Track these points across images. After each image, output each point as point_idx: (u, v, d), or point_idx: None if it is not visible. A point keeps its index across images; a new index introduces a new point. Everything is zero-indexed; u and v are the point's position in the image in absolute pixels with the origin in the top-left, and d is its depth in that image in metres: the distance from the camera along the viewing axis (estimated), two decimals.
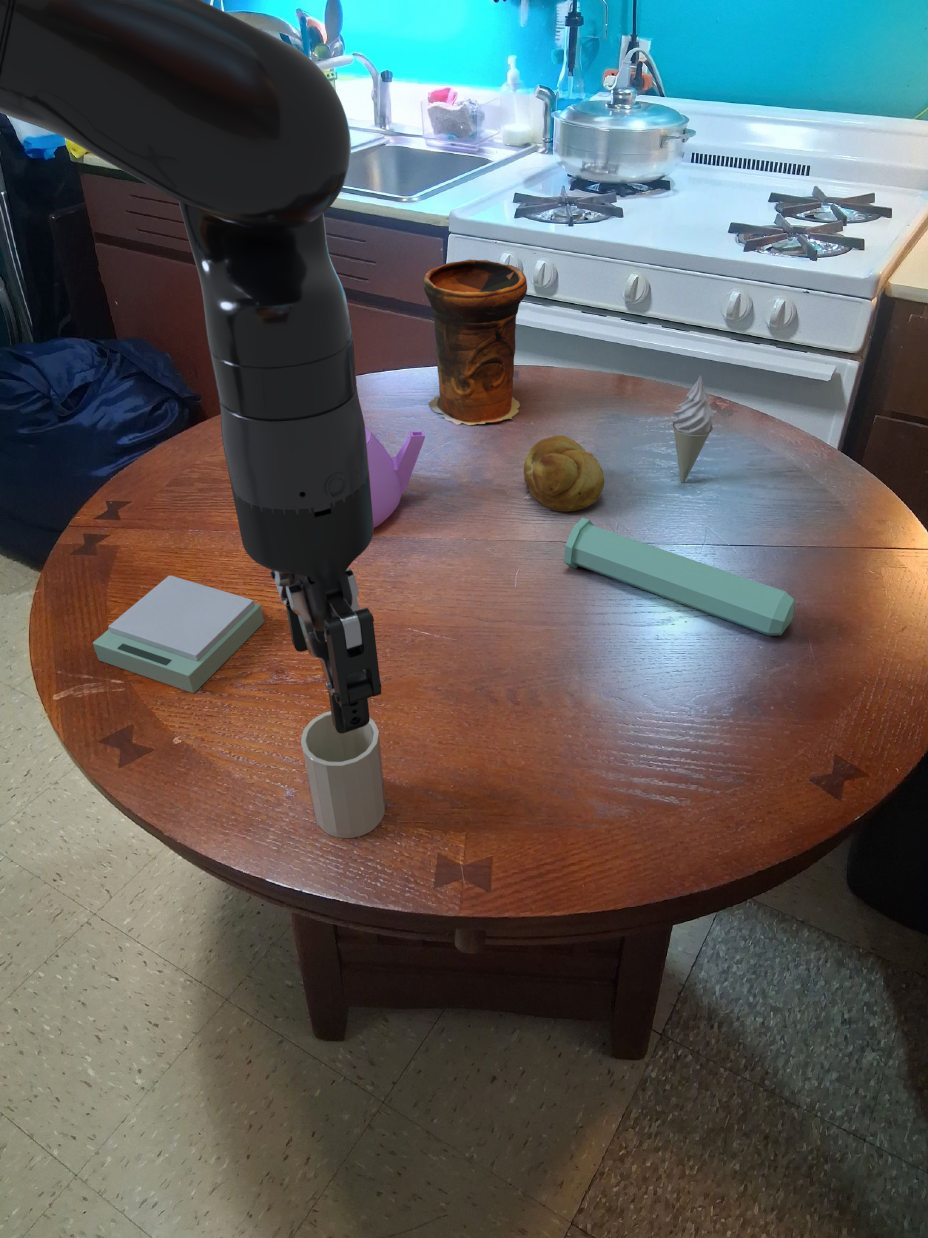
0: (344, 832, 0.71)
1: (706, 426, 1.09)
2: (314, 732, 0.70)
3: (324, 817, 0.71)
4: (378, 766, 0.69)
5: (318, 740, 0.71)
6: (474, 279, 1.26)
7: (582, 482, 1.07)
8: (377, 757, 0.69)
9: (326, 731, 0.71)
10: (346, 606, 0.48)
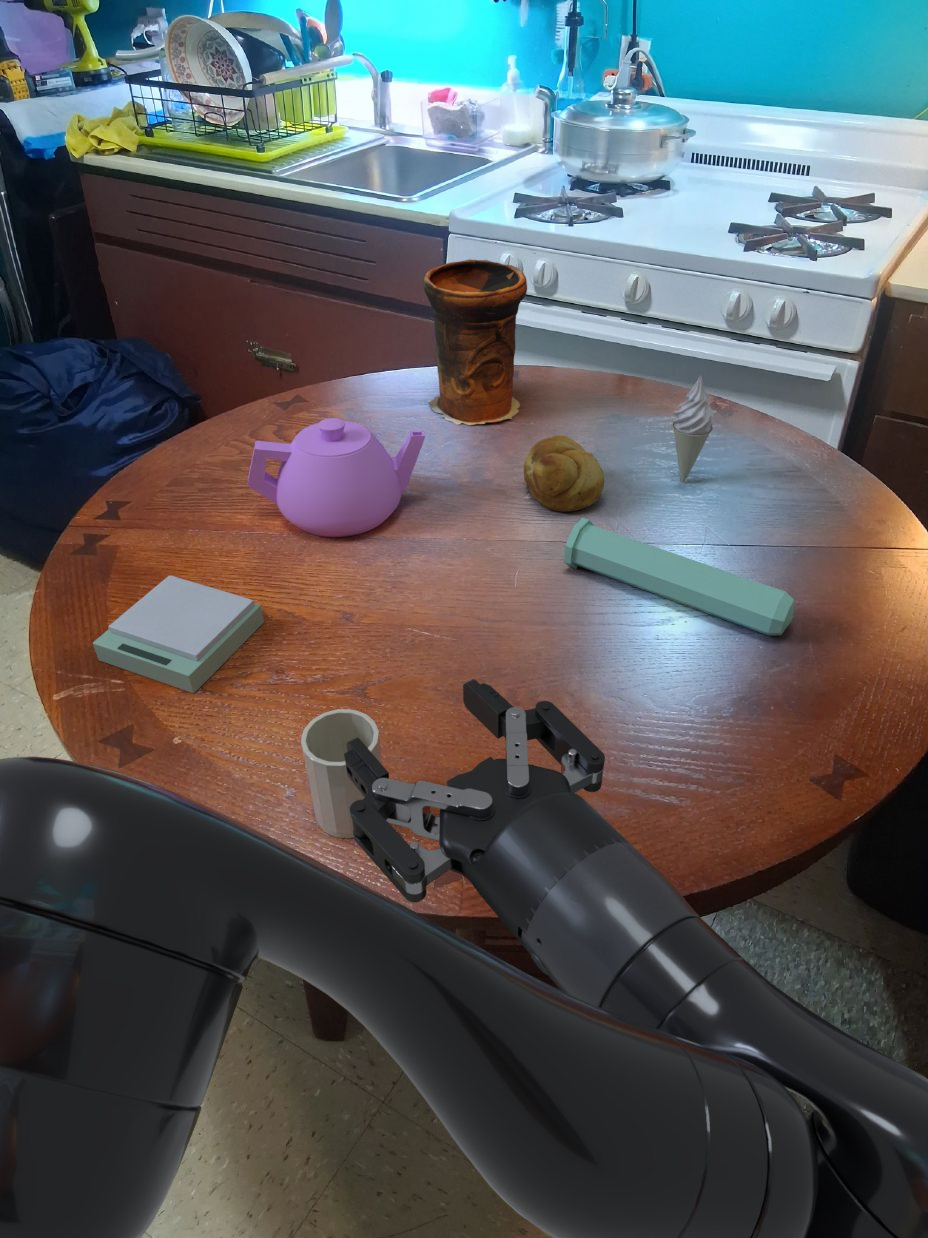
0: (344, 832, 0.71)
1: (706, 426, 1.09)
2: (314, 732, 0.70)
3: (324, 817, 0.71)
4: None
5: (318, 740, 0.71)
6: (474, 279, 1.26)
7: (582, 482, 1.07)
8: (377, 757, 0.69)
9: (326, 731, 0.71)
10: (435, 877, 0.46)
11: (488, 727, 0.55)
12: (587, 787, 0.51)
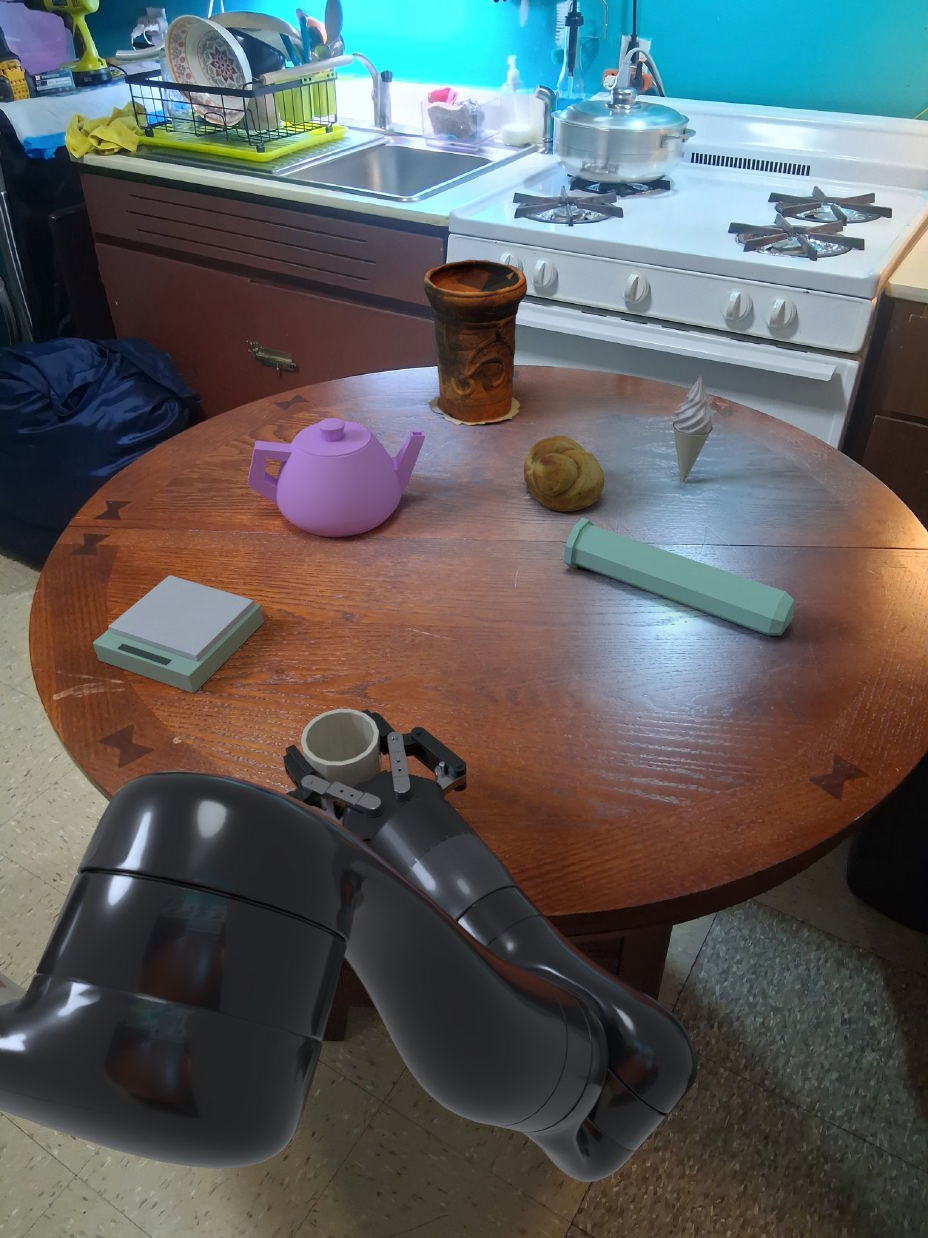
0: None
1: (706, 426, 1.09)
2: (314, 732, 0.70)
3: None
4: (378, 766, 0.69)
5: (318, 740, 0.71)
6: (474, 279, 1.26)
7: (582, 482, 1.07)
8: (377, 757, 0.69)
9: (326, 731, 0.71)
10: None
11: None
12: (456, 788, 0.68)
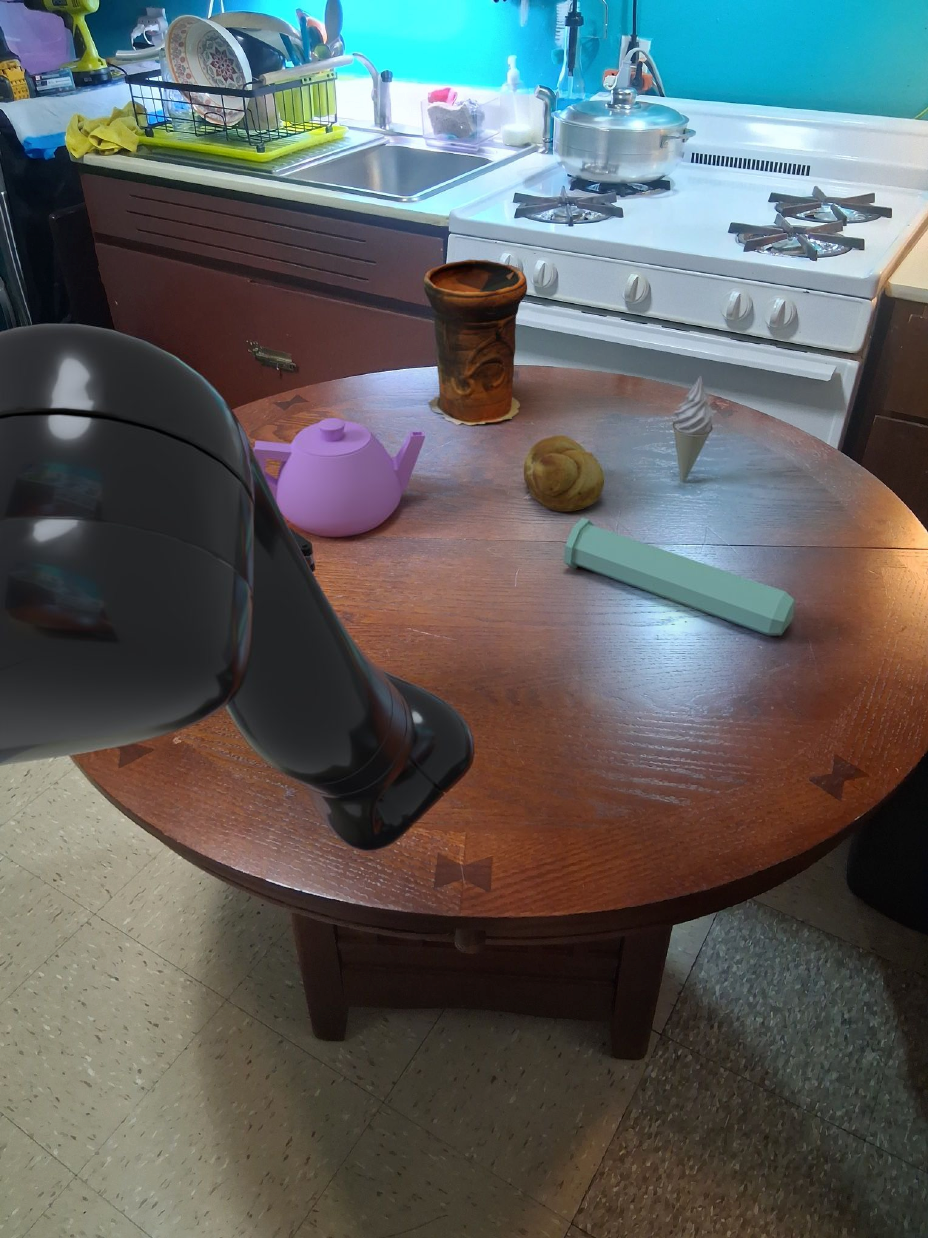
0: None
1: (706, 426, 1.09)
2: None
3: None
4: None
5: None
6: (474, 279, 1.26)
7: (582, 482, 1.07)
8: None
9: None
10: None
11: None
12: None
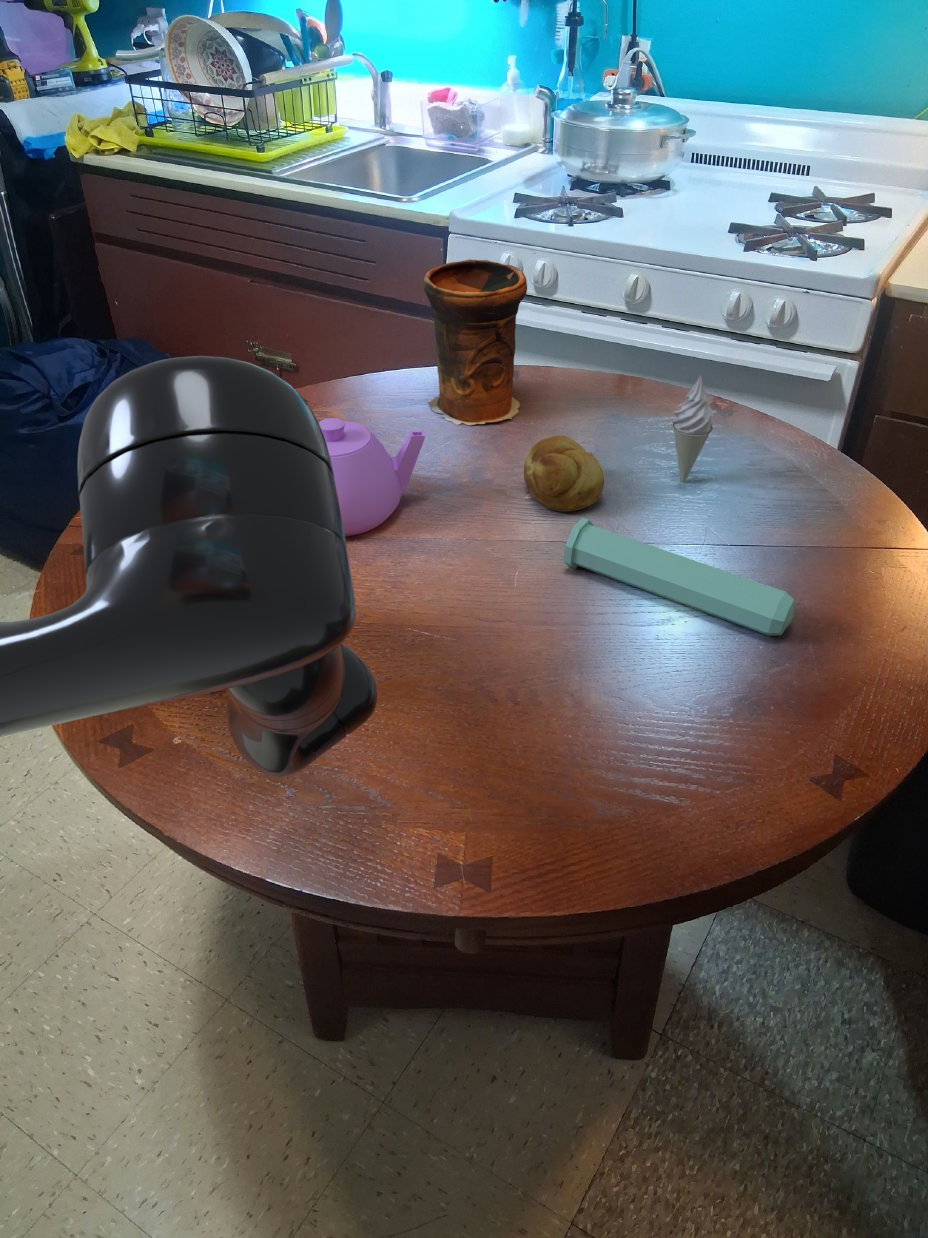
0: None
1: (706, 426, 1.09)
2: None
3: None
4: None
5: None
6: (474, 279, 1.26)
7: (582, 482, 1.07)
8: None
9: None
10: None
11: None
12: None
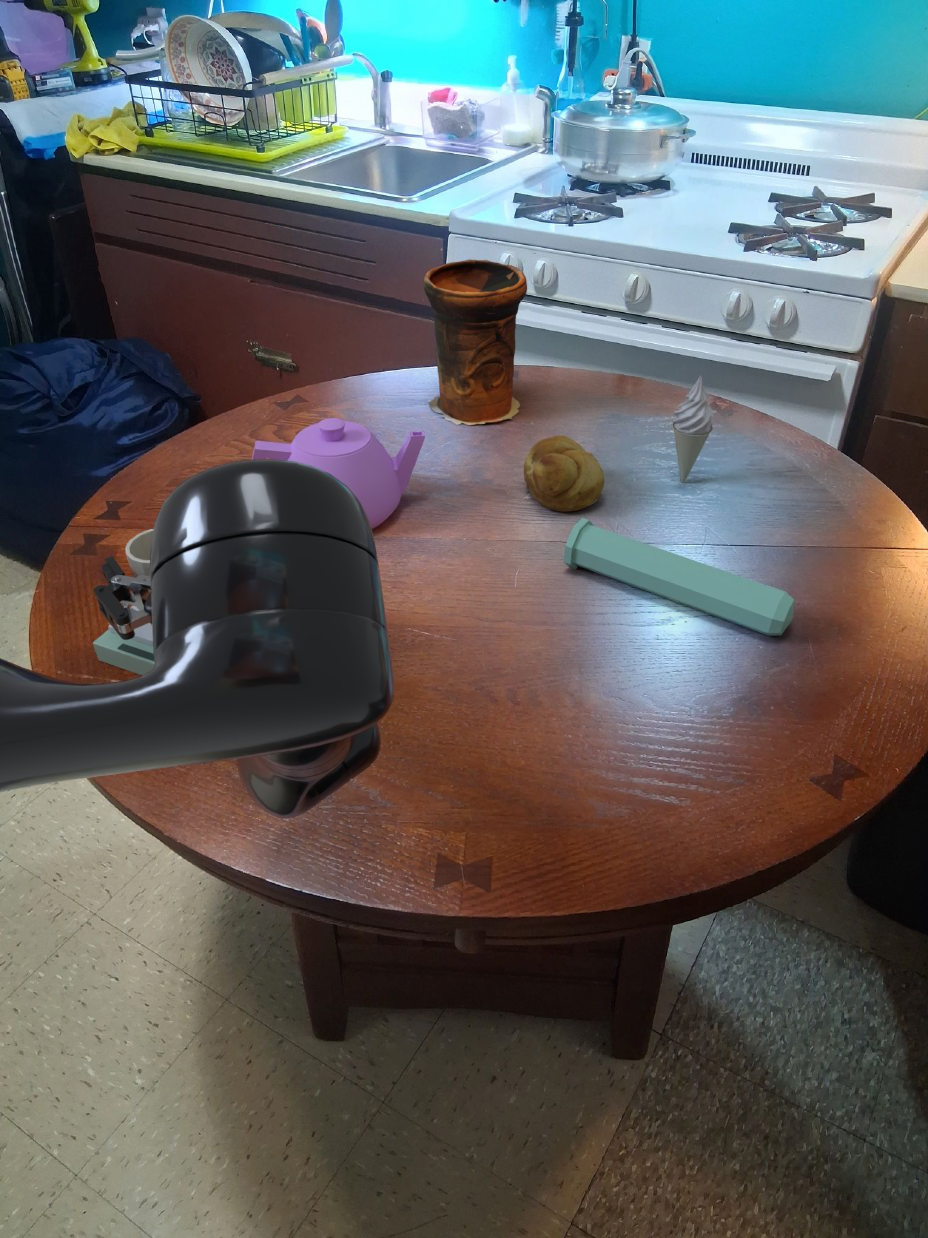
0: None
1: (706, 426, 1.09)
2: (140, 544, 0.85)
3: None
4: None
5: (145, 553, 0.86)
6: (474, 279, 1.26)
7: (582, 482, 1.07)
8: None
9: None
10: (138, 625, 0.77)
11: None
12: None
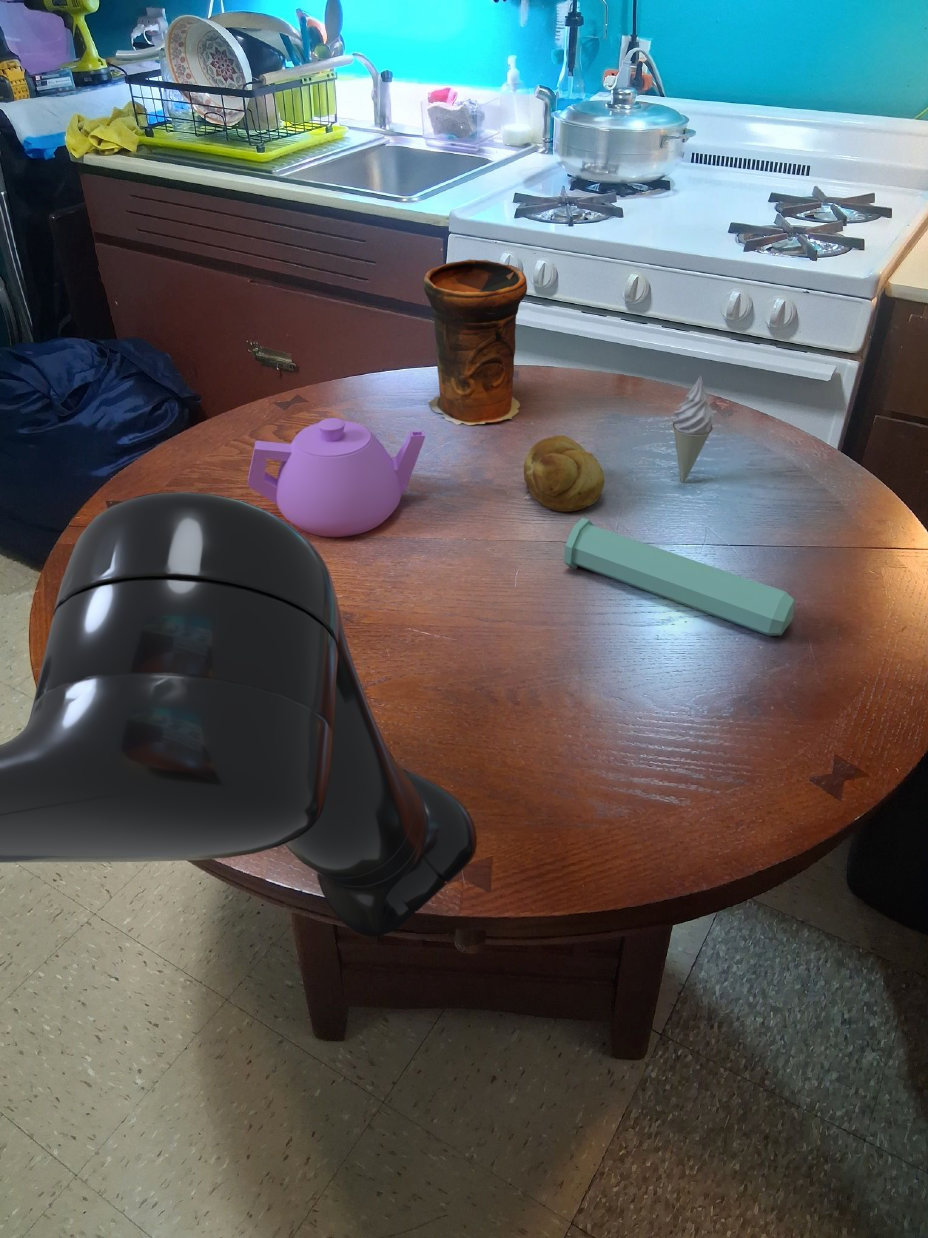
0: None
1: (706, 426, 1.09)
2: None
3: None
4: None
5: None
6: (474, 279, 1.26)
7: (582, 482, 1.07)
8: None
9: None
10: None
11: None
12: None
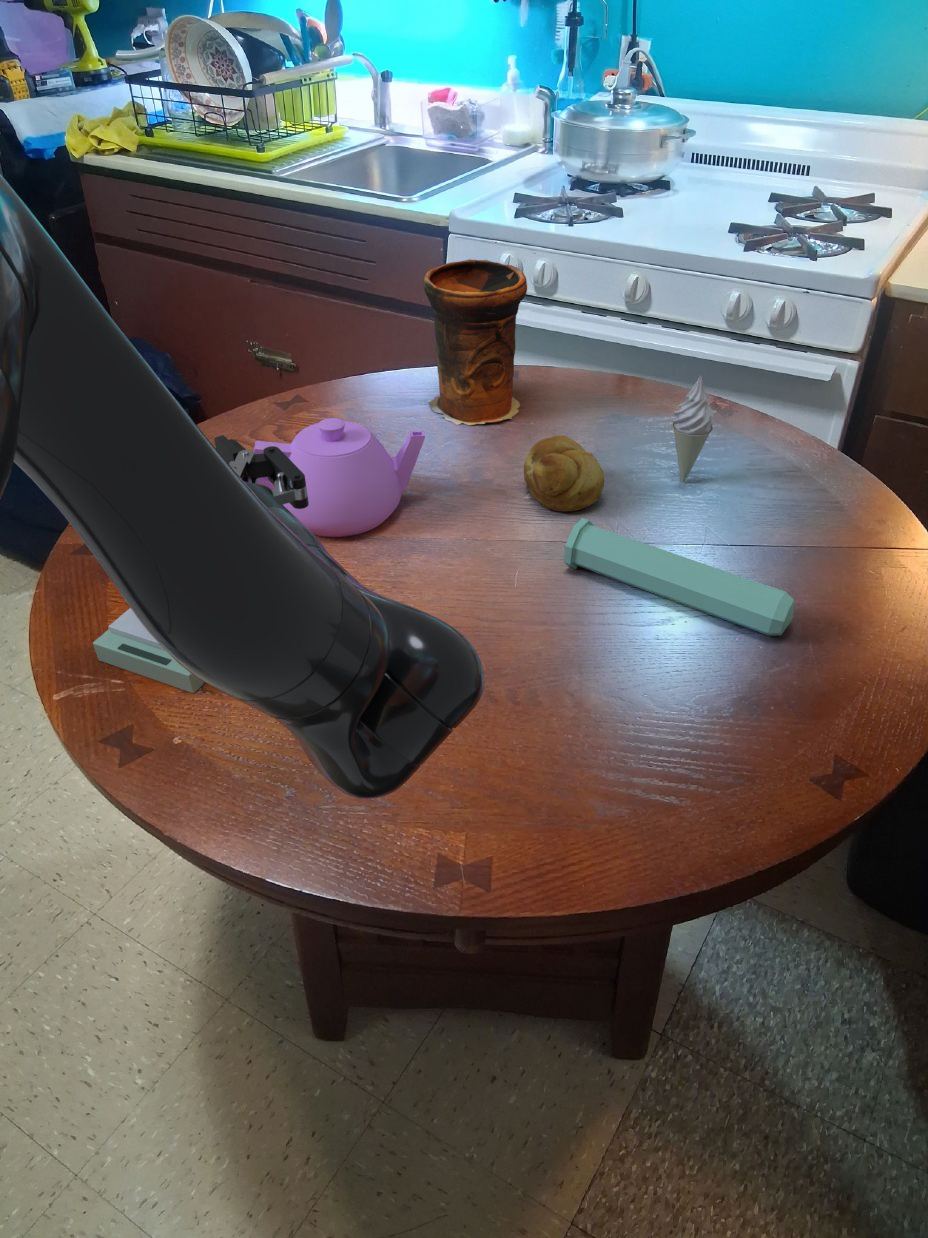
0: None
1: (706, 426, 1.09)
2: None
3: None
4: None
5: None
6: (474, 279, 1.26)
7: (582, 482, 1.07)
8: None
9: None
10: None
11: None
12: (294, 504, 0.65)
